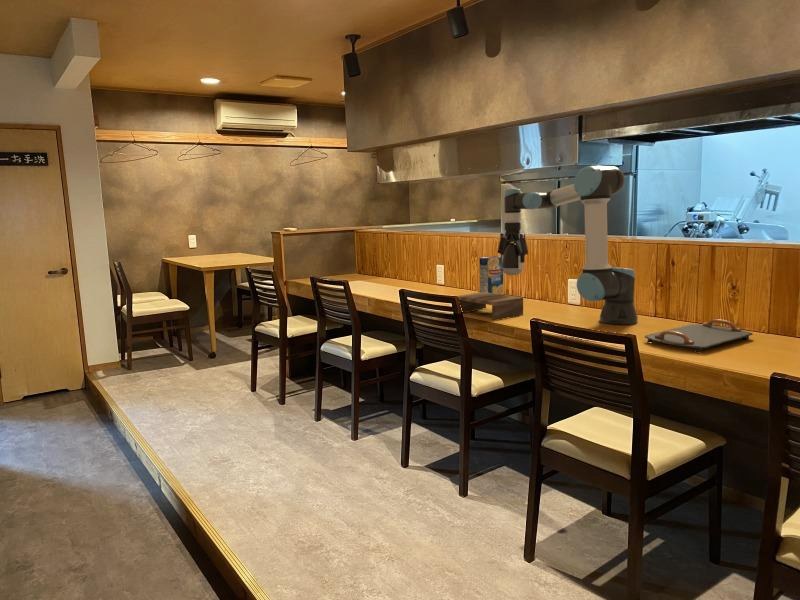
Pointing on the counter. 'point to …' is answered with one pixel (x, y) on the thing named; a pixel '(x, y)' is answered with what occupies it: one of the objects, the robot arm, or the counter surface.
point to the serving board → (699, 335)
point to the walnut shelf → (493, 304)
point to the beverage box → (491, 275)
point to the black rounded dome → (511, 260)
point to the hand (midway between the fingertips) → (512, 268)
